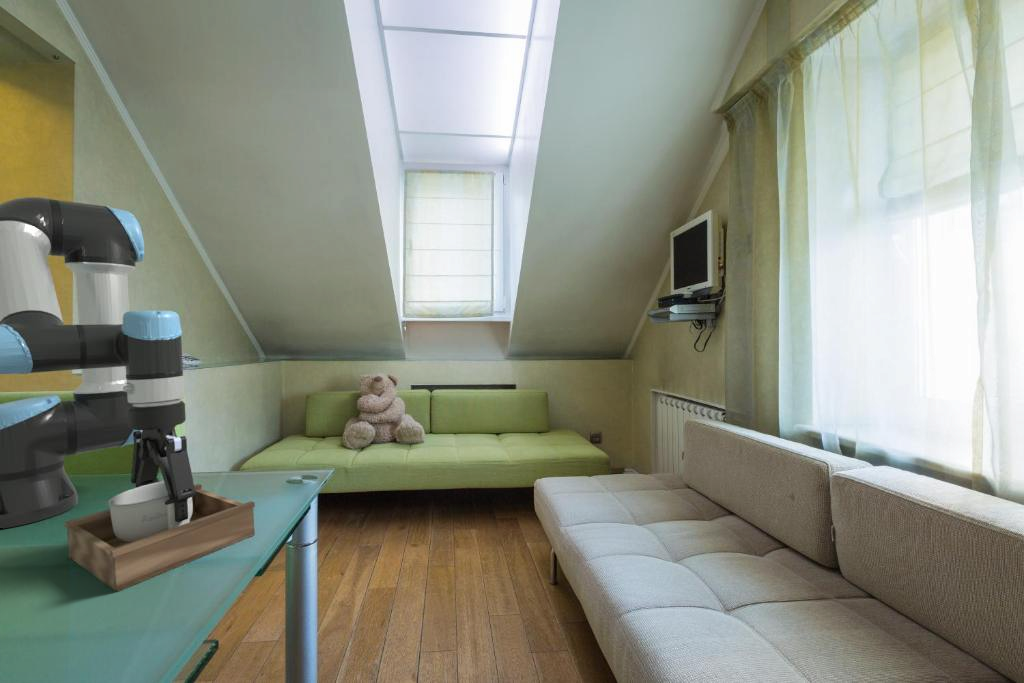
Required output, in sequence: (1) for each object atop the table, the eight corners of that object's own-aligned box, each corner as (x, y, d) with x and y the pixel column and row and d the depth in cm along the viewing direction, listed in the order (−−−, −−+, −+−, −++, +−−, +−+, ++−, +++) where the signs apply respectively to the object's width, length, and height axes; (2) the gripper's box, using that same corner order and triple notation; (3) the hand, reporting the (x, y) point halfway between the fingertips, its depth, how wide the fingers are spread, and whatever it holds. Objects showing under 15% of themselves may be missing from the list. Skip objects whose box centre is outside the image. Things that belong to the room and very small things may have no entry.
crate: (67, 557, 72) (64, 522, 72) (200, 512, 89) (198, 483, 89) (115, 592, 62) (112, 552, 61) (256, 534, 78) (254, 502, 78)
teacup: (147, 555, 68) (144, 504, 67) (92, 549, 70) (89, 500, 70) (224, 516, 81) (222, 473, 81) (176, 512, 84) (174, 470, 83)
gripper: (101, 401, 77) (109, 526, 78) (160, 412, 65) (169, 559, 66) (154, 395, 84) (160, 510, 84) (216, 403, 72) (223, 537, 72)
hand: (164, 531), depth 75 cm, fingers closed on teacup, 11 cm apart
